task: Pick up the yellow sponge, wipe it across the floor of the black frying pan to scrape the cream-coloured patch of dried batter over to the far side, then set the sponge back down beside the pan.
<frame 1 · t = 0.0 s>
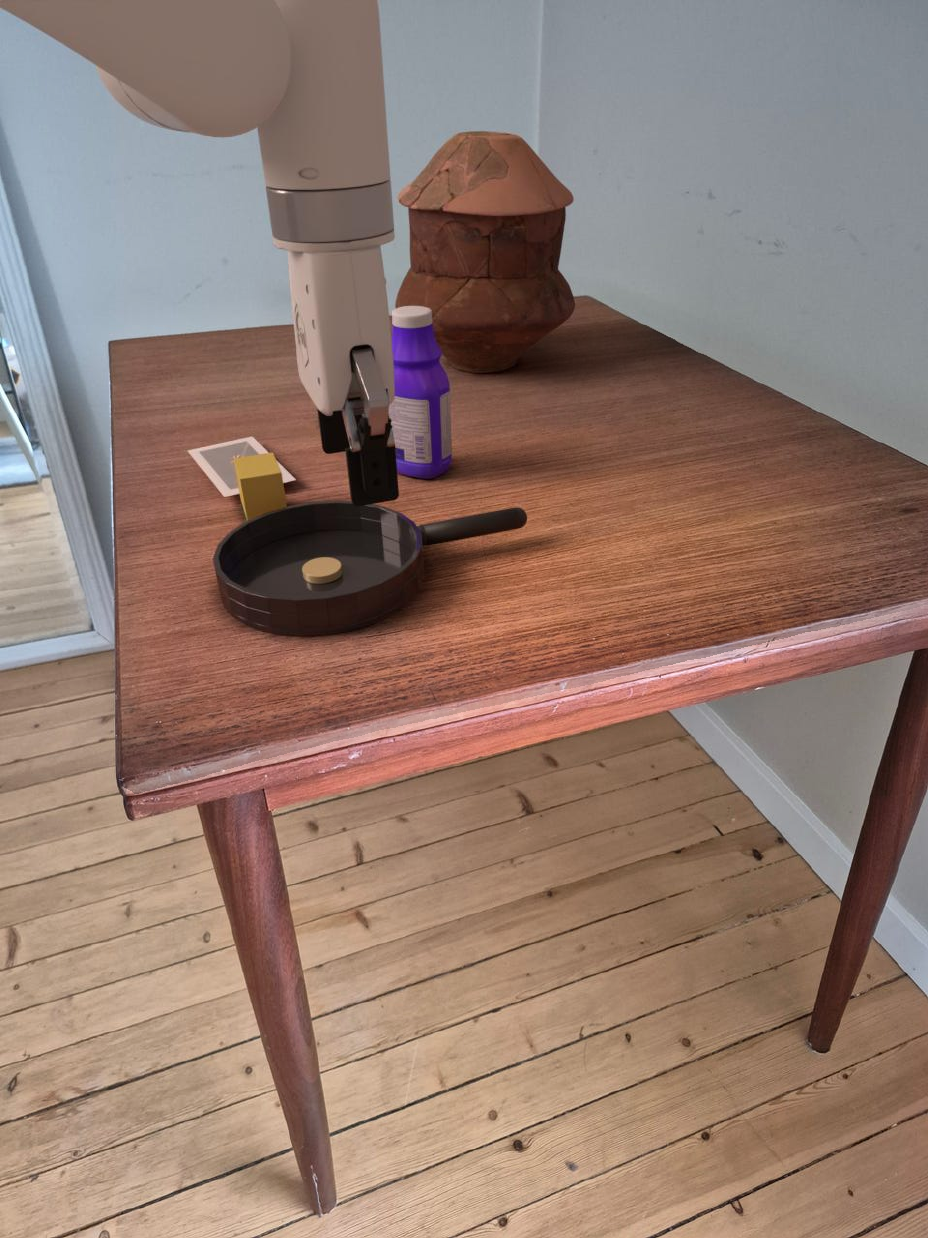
hand: (358, 474, 64), 14 cm above the table, tool pointing down, fingers open, 9 cm apart
batter: (322, 574, 80), point 1 cm above the table, touching pan
pottery vessel: (485, 363, 132), on the table
pan: (323, 580, 80), on the table
bottle: (421, 471, 100), on the table
sponge: (265, 516, 91), on the table
game pieces: (342, 410, 117), on the table
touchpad: (241, 475, 101), on the table
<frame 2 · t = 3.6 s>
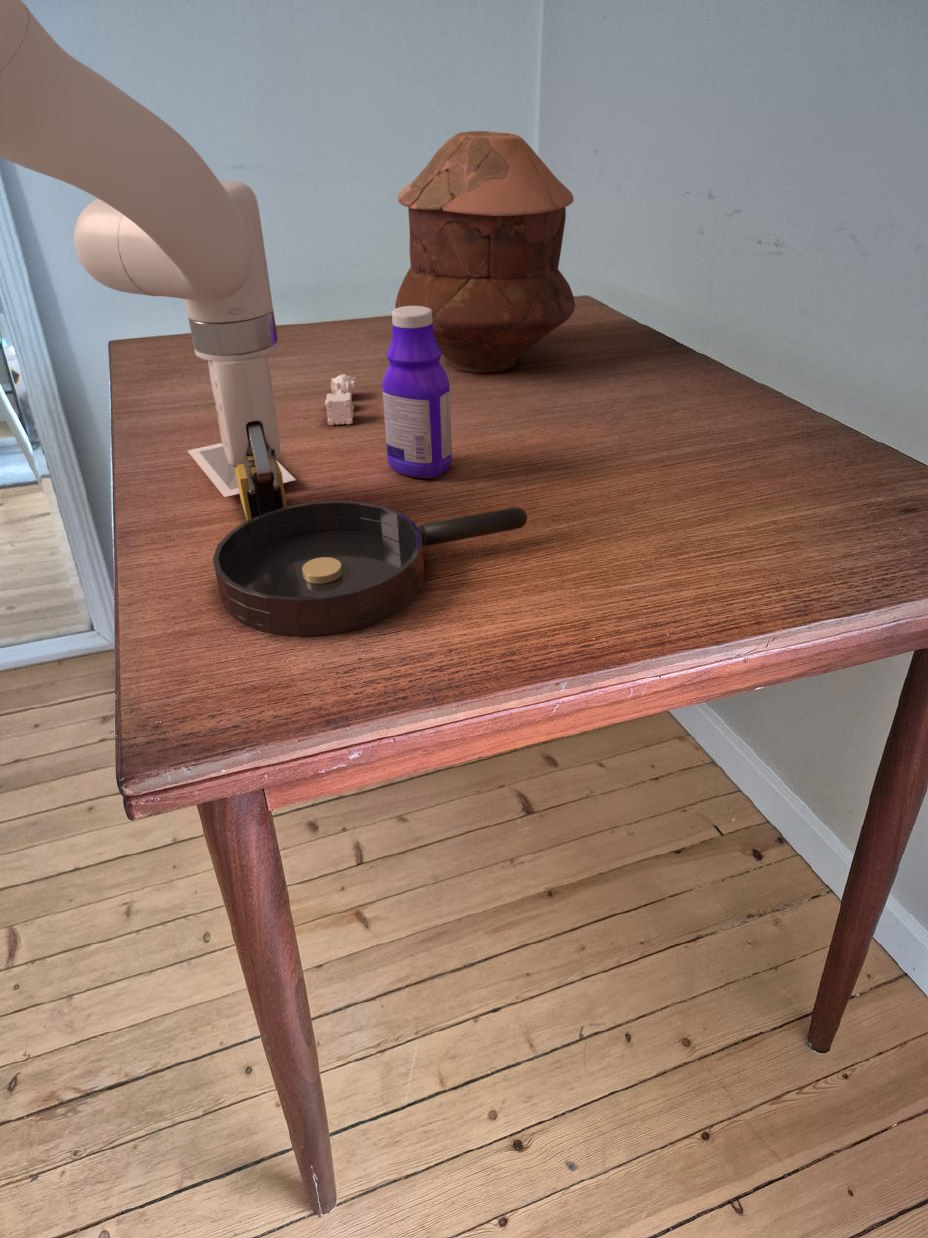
hand: (264, 511, 91), 1 cm above the table, tool pointing down, fingers closed on sponge, 5 cm apart
sponge: (265, 516, 91), on the table, touching gripper
everything else where it was.
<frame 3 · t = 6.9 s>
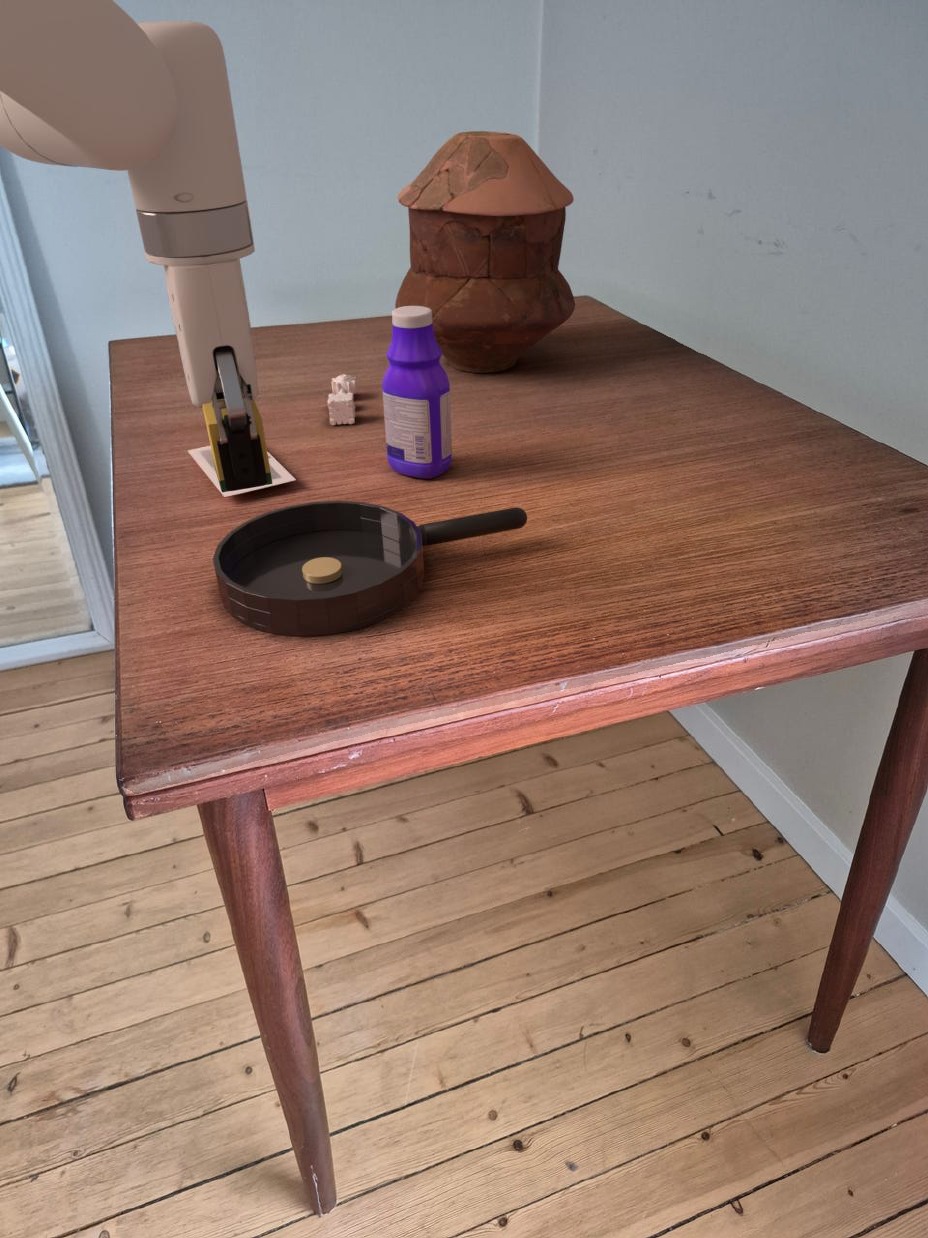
hand: (241, 469, 73), 11 cm above the table, tool pointing down, fingers closed on sponge, 5 cm apart
sponge: (243, 475, 73), point 11 cm above the table, touching gripper
everything else where it was.
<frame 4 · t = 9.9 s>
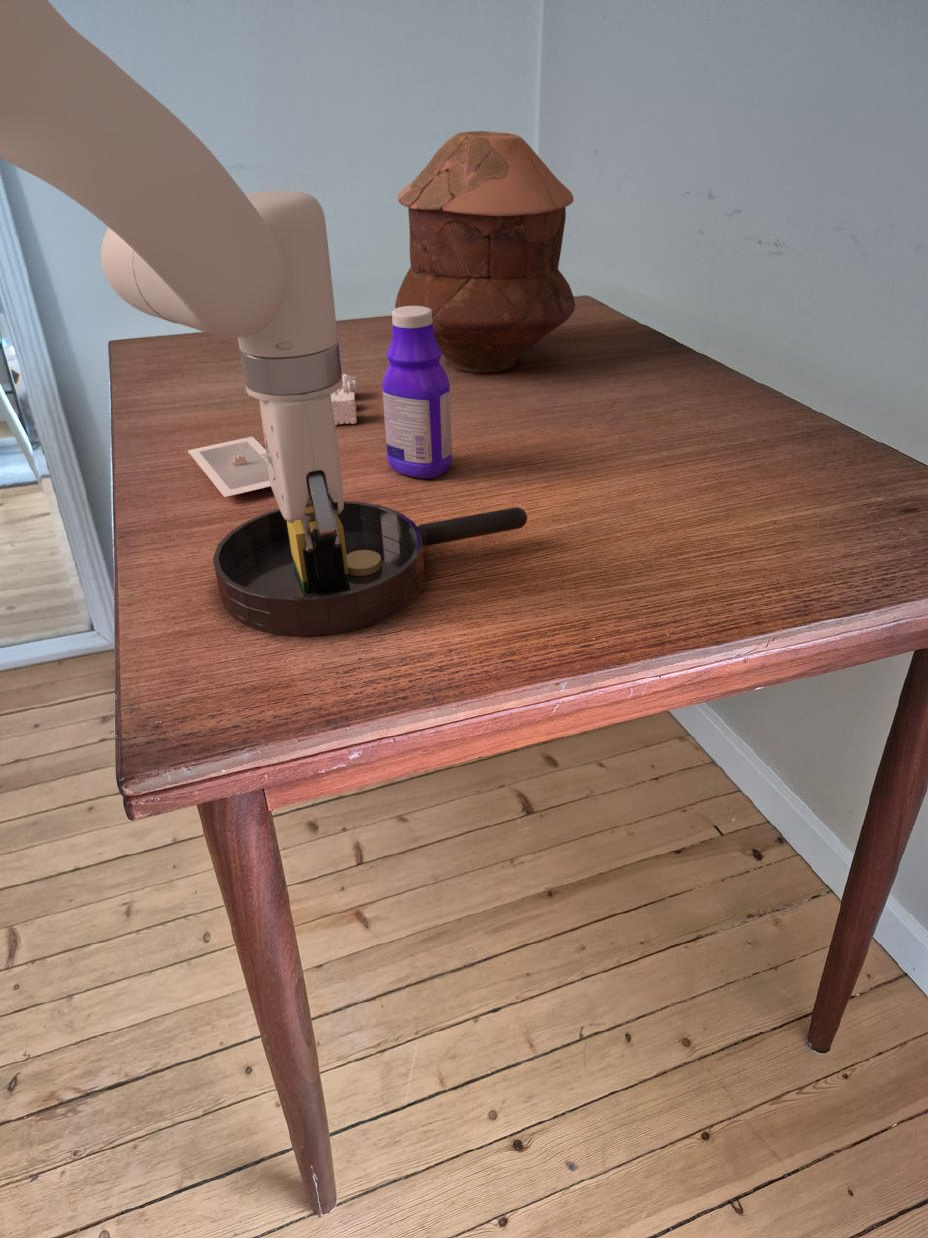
hand: (319, 568, 79), 1 cm above the table, tool pointing down, fingers closed on sponge, 5 cm apart
batter: (362, 566, 81), point 1 cm above the table
sponge: (320, 573, 80), point 1 cm above the table, touching gripper
everything else where it was.
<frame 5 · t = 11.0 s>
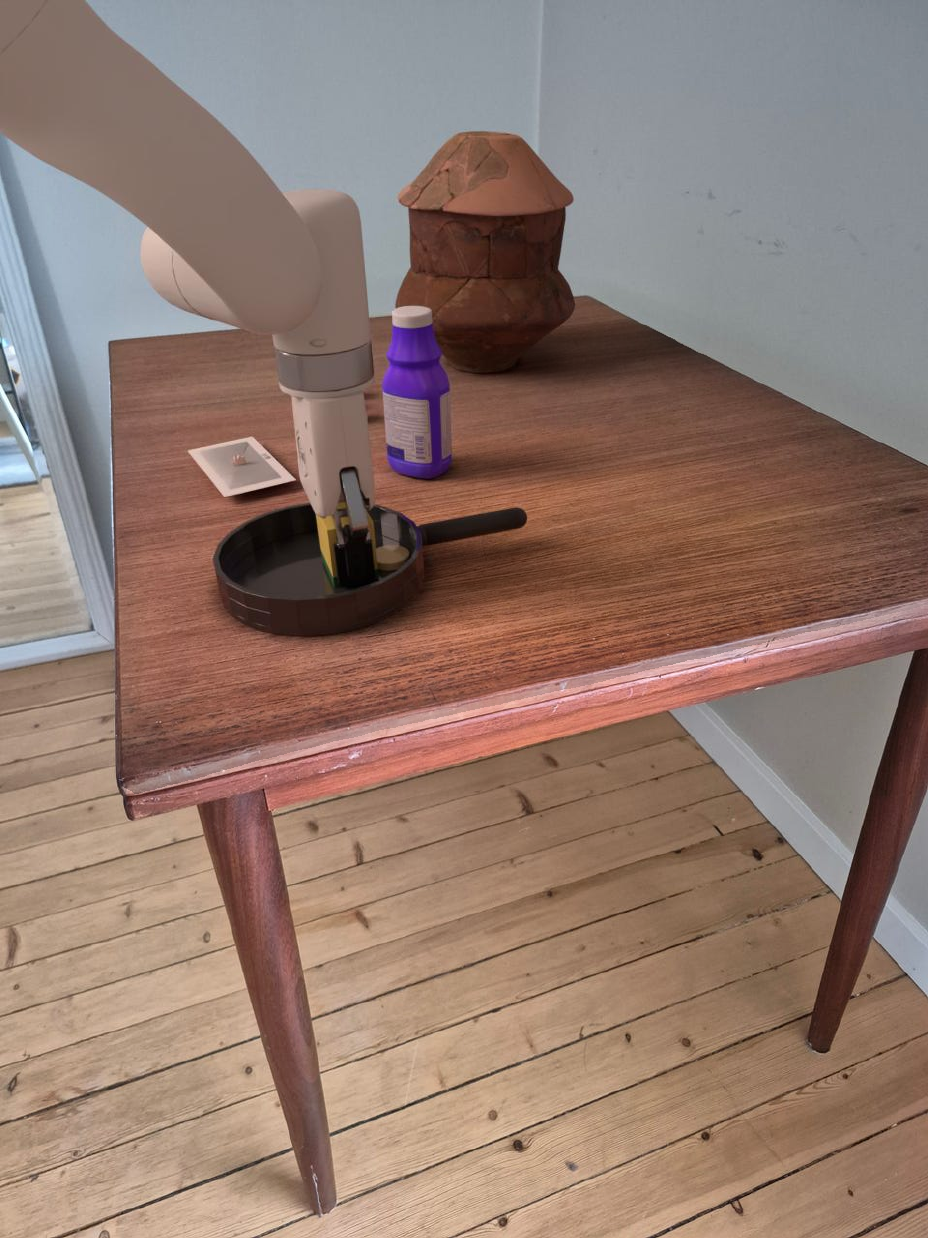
hand: (348, 564, 80), 1 cm above the table, tool pointing down, fingers closed on sponge, 5 cm apart
batter: (390, 561, 81), point 1 cm above the table, touching pan
sponge: (349, 569, 80), point 1 cm above the table, touching gripper
everything else where it was.
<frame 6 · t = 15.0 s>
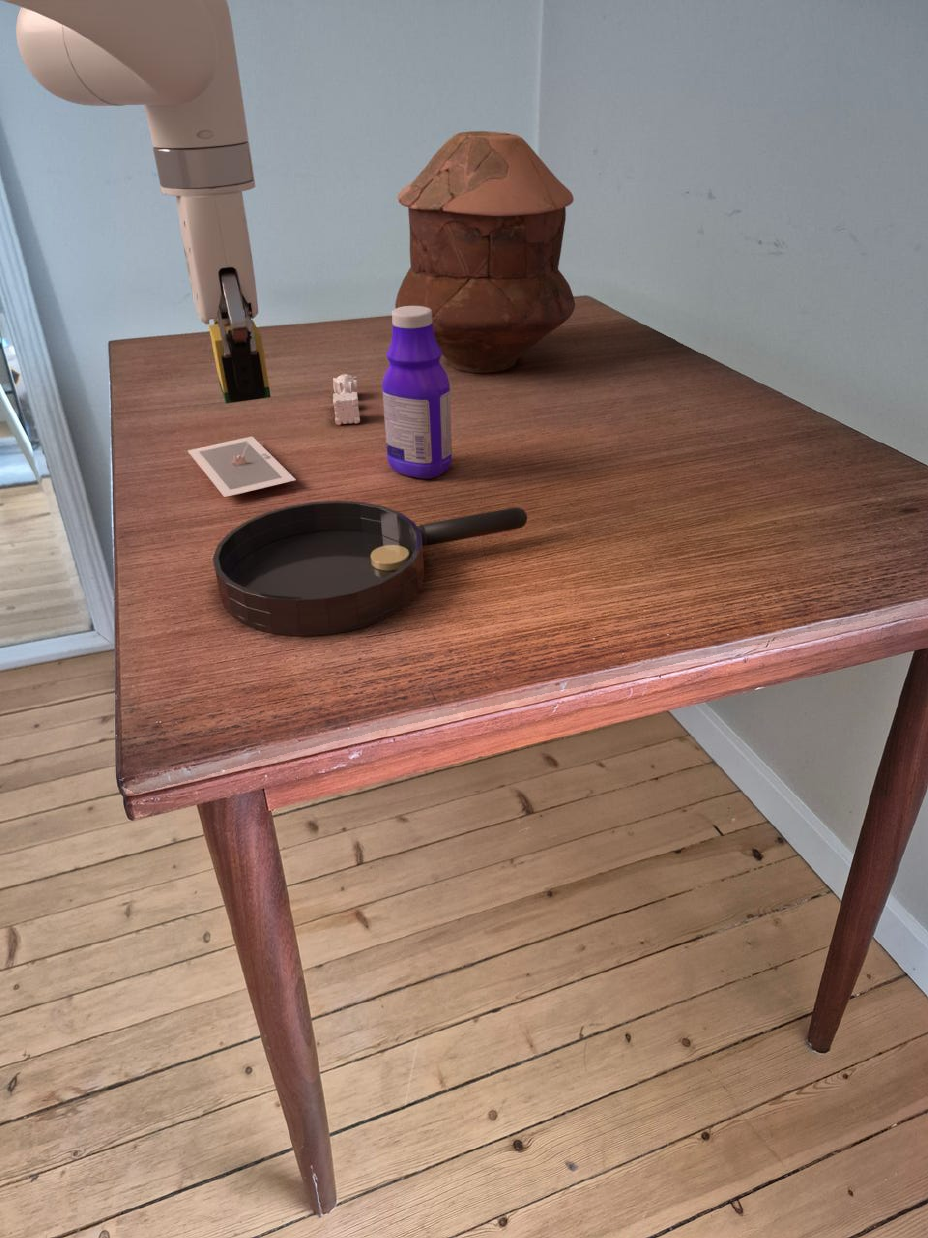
hand: (243, 386, 82), 14 cm above the table, tool pointing down, fingers closed on sponge, 5 cm apart
sponge: (244, 391, 83), point 14 cm above the table, touching gripper
everything else where it was.
when the fingers open (0 cm above the table, at t = 18.5 s): sponge stays where it is, on the table.
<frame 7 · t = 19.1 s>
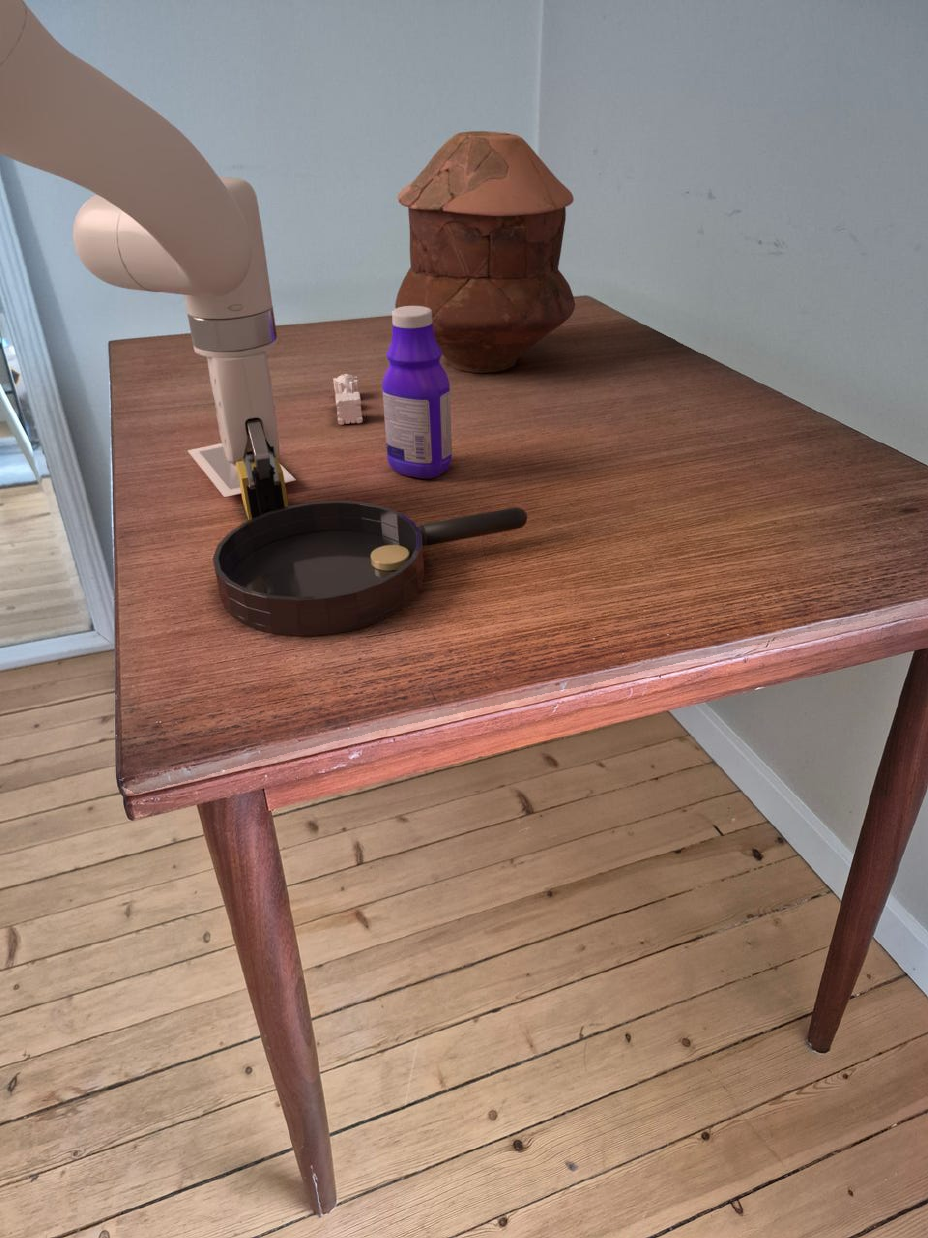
hand: (262, 502, 90), 2 cm above the table, tool pointing down, fingers open, 9 cm apart
sponge: (267, 515, 91), on the table
everything else where it was.
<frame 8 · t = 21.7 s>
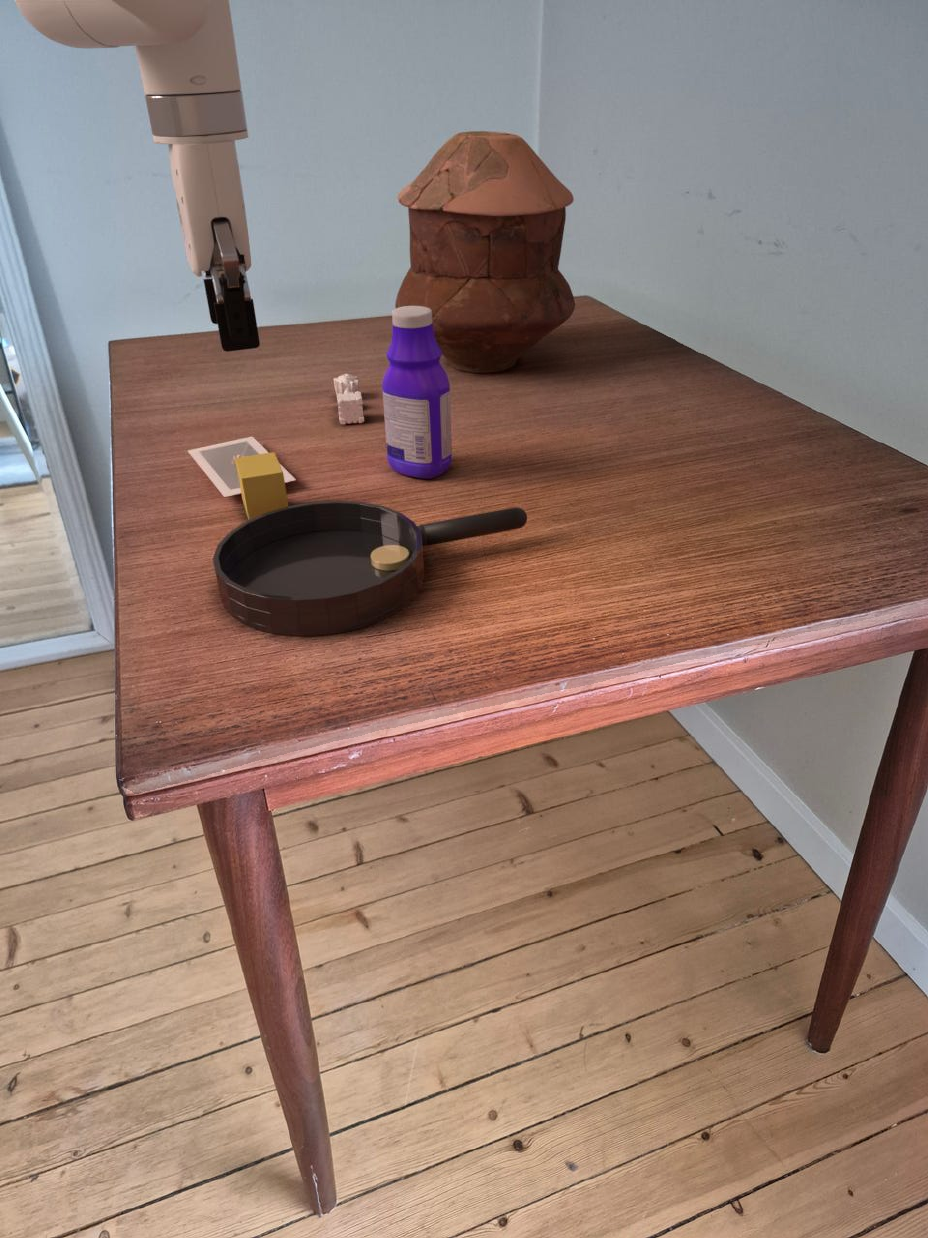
hand: (234, 334, 81), 18 cm above the table, tool pointing down, fingers open, 9 cm apart
at the end: batter 0.0 cm from the target spot in the pan, point 0.6 cm above the pan's base; sponge inside the target area (0.2 cm from its centre), on the table; sponge tilted 0° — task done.
